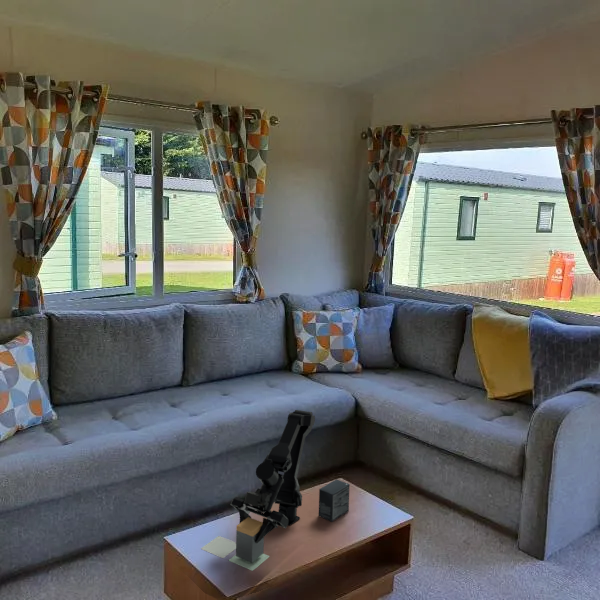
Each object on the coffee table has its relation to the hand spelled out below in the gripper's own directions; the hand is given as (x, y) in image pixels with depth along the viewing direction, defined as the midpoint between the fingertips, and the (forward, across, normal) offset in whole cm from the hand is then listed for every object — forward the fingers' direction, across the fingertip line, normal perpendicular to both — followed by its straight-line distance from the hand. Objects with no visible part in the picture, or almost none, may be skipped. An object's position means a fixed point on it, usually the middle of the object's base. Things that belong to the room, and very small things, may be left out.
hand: (247, 539), depth 177 cm
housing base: (+3, 0, +5) cm, 6 cm away
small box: (-23, +8, +36) cm, 43 cm away
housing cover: (-3, 0, -1) cm, 3 cm away
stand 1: (+5, -11, +6) cm, 14 cm away
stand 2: (+5, 0, +6) cm, 8 cm away
